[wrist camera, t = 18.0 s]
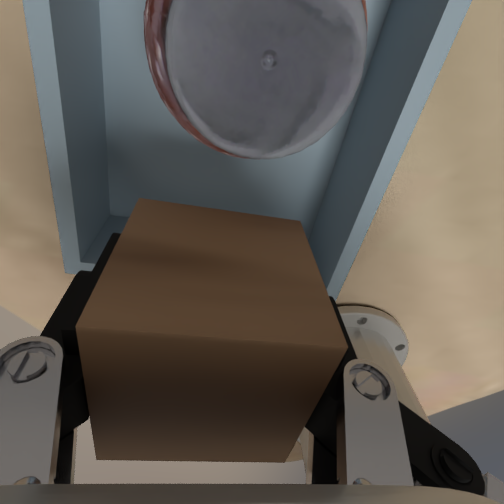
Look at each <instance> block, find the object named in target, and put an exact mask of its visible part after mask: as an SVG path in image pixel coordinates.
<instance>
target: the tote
mask: <svg viewBox="0 0 504 504" xmlns="http://www.w3.org/2000/svg"><path fill="white" fill-rule="evenodd" d="M365 1H366V9H367V24H368V32H367V51H366V59H365V63H364V69H363V75H362V78H361V81H360V84H359V86H358V88H357V90H356V92H355V95H354V97H353V100H352V102H351V103H350V105H349V107H348V108H347V110H346V112H345V113H344V115H343V116H342V117H341V119H340V120H339V121H338V122H337V124H336V125H335V126H334V127H333V128H332V129H331V130H330V131H328V132H327V133H326V134H325V135H324V136H323V137H322V138H321V139H320V140H319V141H317V142H316V143H314V144H312V145H311V146H309V147H307V148H305V149H304V150H302V151H300V152H297V153H295V154H292V155H288V156H285V157H283V158H276V159H259V160H254V159H243V158H237V157H233V156H229V155H225V154H223V153H221V152H218V151H216V150H214V149H212V148H210V147H208V146H206V145H205V144H203V143H201V142H199V141H198V140H196V139H195V138H194V137H193V136H192V135H191V134H189V133H188V132H187V131H186V130H185V129H184V128H183V127H182V126H181V125H180V124H179V123H178V121H177V120H176V119H175V118H174V116H173V115H172V114H171V113H170V112H169V111H168V109H167V107H166V105H165V104H164V102H163V101H162V99H161V98H160V95H159V93H158V91H157V89H156V87H155V84H154V82H153V78H152V75H151V72H150V69H149V65H148V60H147V55H146V49H145V41H144V10H145V3H146V0H23V6H24V13H25V19H26V26H27V32H28V38H29V45H30V51H31V58H32V64H33V70H34V77H35V83H36V90H37V96H38V102H39V109H40V115H41V122H42V128H43V134H44V141H45V147H46V154H47V160H48V166H49V173H50V179H51V186H52V192H53V198H54V205H55V211H56V218H57V224H58V230H59V237H60V243H61V250H62V256H63V262H64V269H65V273H70V274H77V273H78V272H79V271H80V270H85V271H92V270H93V268H94V266H95V265H96V263H97V261H98V259H99V257H100V255H101V253H102V251H103V250H104V248H105V246H106V244H107V242H108V240H109V238H110V237H111V235H112V233H122V231H123V229H124V227H125V225H126V223H127V221H128V219H129V217H130V215H131V213H132V211H133V209H134V207H135V205H136V203H137V201H138V199H139V198H144V199H151V200H158V201H165V202H172V203H179V204H186V205H193V206H200V207H207V208H214V209H221V210H228V211H235V212H242V213H249V214H256V215H263V216H270V217H277V218H284V219H291V220H298V221H300V222H301V224H302V227H303V229H304V232H305V235H306V237H307V240H308V243H309V245H310V248H311V251H312V253H313V256H314V258H315V261H316V264H317V266H318V269H319V272H320V274H321V277H322V279H323V282H324V285H325V287H326V290H327V293H328V295H329V296H331V297H333V298H334V300H335V301H336V299H337V297H338V294H339V292H340V290H341V288H342V286H343V283H344V281H345V279H346V277H347V275H348V272H349V270H350V268H351V266H352V264H353V261H354V259H355V257H356V255H357V253H358V250H359V248H360V246H361V244H362V242H363V239H364V237H365V235H366V233H367V231H368V228H369V226H370V224H371V222H372V220H373V217H374V215H375V213H376V211H377V209H378V206H379V204H380V202H381V200H382V198H383V195H384V193H385V191H386V189H387V187H388V184H389V182H390V180H391V178H392V176H393V173H394V171H395V169H396V167H397V165H398V162H399V160H400V158H401V156H402V154H403V151H404V149H405V147H406V145H407V143H408V140H409V138H410V136H411V134H412V132H413V129H414V127H415V125H416V123H417V121H418V118H419V116H420V114H421V112H422V110H423V107H424V105H425V103H426V101H427V99H428V96H429V94H430V92H431V90H432V88H433V85H434V83H435V81H436V79H437V77H438V74H439V72H440V70H441V68H442V66H443V63H444V61H445V59H446V57H447V54H448V52H449V50H450V48H451V46H452V43H453V41H454V39H455V37H456V35H457V32H458V30H459V28H460V26H461V24H462V21H463V19H464V17H465V15H466V13H467V10H468V8H469V6H470V4H471V2H472V0H365Z"/></svg>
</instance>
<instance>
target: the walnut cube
mask: <svg viewBox="0 0 504 504" xmlns="http://www.w3.org/2000/svg"><path fill="white" fill-rule="evenodd" d="M75 327H76V333H77V339H78V346H79V352H80V358H81V365H82V371H83V377H84V384H85V390H86V396H87V403H88V409H89V415H90V422H91V428H92V434H93V440H94V447H95V453H96V459H97V460H141V461H143V460H144V461H212V462H219V461H220V462H283V463H285V461H286V459H287V457H288V456H289V454H290V452H291V450H292V448H293V447H294V445H295V443H296V441H297V439H298V438H299V436H300V434H301V432H302V430H303V429H304V427H305V425H306V423H307V421H308V419H309V418H310V416H311V414H312V412H313V410H314V409H315V407H316V405H317V403H318V401H319V400H320V398H321V396H322V394H323V392H324V390H325V389H326V387H327V385H328V383H329V381H330V380H331V378H332V376H333V374H334V372H335V371H336V369H337V367H338V365H339V363H340V361H341V360H342V358H343V356H344V354H345V352H346V351H347V349H348V345H347V343H346V340H345V337H344V335H343V332H342V329H341V327H340V324H339V322H338V319H337V316H336V314H335V311H334V308H333V306H332V303H331V301H330V298H329V295H328V293H327V290H326V287H325V285H324V282H323V279H322V277H321V274H320V272H319V269H318V266H317V264H316V261H315V258H314V256H313V253H312V251H311V248H310V245H309V243H308V240H307V237H306V235H305V232H304V229H303V227H302V224H301V222H300V221H298V220H291V219H284V218H277V217H270V216H263V215H256V214H249V213H242V212H235V211H228V210H221V209H214V208H207V207H200V206H193V205H186V204H179V203H172V202H165V201H158V200H151V199H144V198H139V199H138V201H137V203H136V205H135V207H134V209H133V211H132V213H131V215H130V217H129V219H128V221H127V223H126V225H125V227H124V229H123V231H122V233H121V235H120V237H119V239H118V241H117V243H116V245H115V247H114V249H113V251H112V253H111V255H110V257H109V259H108V262H107V264H106V266H105V268H104V270H103V272H102V274H101V276H100V278H99V280H98V282H97V284H96V286H95V288H94V290H93V292H92V294H91V296H90V298H89V300H88V302H87V304H86V306H85V308H84V310H83V312H82V314H81V316H80V318H79V320H78V322H77V324H76V326H75Z"/></svg>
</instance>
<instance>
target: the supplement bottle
mask: <svg viewBox="0 0 504 504" xmlns="http://www.w3.org/2000/svg"><path fill="white" fill-rule="evenodd" d="M367 32H368V24H367V9H366V1H365V0H146V3H145V10H144V41H145V49H146V55H147V60H148V65H149V69H150V72H151V75H152V78H153V82H154V84H155V87H156V89H157V91H158V93H159V95H160V98H161V99H162V101H163V102H164V104H165V105H166V107H167V109H168V111H169V112H170V113H171V114H172V115H173V116H174V118H175V119H176V120H177V121H178V123H179V124H180V125H181V126H182V127H183V128H184V129H185V130H186V131H187V132H188V133H189V134H191V135H192V136H193V137H194V138H195V139H196V140H198V141H199V142H201V143H203V144H205V145H206V146H208V147H210V148H212V149H214V150H216V151H218V152H221V153H223V154H225V155H229V156H233V157H237V158H243V159H254V160H259V159H276V158H283V157H285V156H288V155H292V154H295V153H297V152H300V151H302V150H304V149H305V148H307V147H309V146H311V145H312V144H314V143H316V142H317V141H319V140H320V139H321V138H322V137H323V136H324V135H325V134H326V133H327V132H328V131H330V130H331V129H332V128H333V127H334V126H335V125H336V124H337V122H338V121H339V120H340V119H341V117H342V116H343V115H344V113H345V112H346V110H347V108H348V107H349V105H350V103H351V102H352V100H353V97H354V95H355V92H356V90H357V88H358V86H359V84H360V81H361V78H362V75H363V69H364V63H365V59H366V51H367Z"/></svg>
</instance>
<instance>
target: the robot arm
mask: <svg viewBox="0 0 504 504" xmlns="http://www.w3.org/2000/svg"><path fill="white" fill-rule="evenodd" d="M120 235H121V233H112V235H111V237H110V238H109V240H108V242H107V244H106V246H105V248H104V250H103V251H102V253H101V255H100V257H99V259H98V261H97V263H96V265H95V266H94V268H93V270H92V271H85V270H80V271H79V272H78V273H77V274H76V276H75V277H74V279H73V281H72V282H71V284H70V286H69V288H68V289H67V291H66V293H65V294H64V296H63V298H62V299H61V301H60V303H59V304H58V306H57V308H56V309H55V311H54V313H53V315H52V316H51V318H50V320H49V321H48V323H47V325H46V326H45V328H44V330H43V331H42V333H41V335H40V336H31V337H27V338H23V339H19V340H17V341H14V342H12V343H10V344H8V345H7V346H5V347H4V348H2V349H0V504H504V483H503V482H502V481H500V480H499V479H497V478H496V477H494V476H493V475H491V474H490V473H488V472H487V473H486V474H485V475H483V474H482V473H481V471H480V469H479V468H478V466H477V464H476V462H475V461H474V460H473V459H472V458H471V456H470V455H469V454H468V453H467V452H466V451H465V450H463V449H462V448H461V447H460V446H459V445H458V444H456V443H455V442H453V441H452V440H451V439H449V438H448V437H447V436H445V435H444V434H443V433H442V432H440V431H439V430H438V429H436V428H435V427H433V426H432V425H431V423H430V421H429V420H428V418H427V416H426V414H425V412H424V410H423V408H422V406H421V404H420V402H419V400H418V398H417V396H416V394H415V392H414V390H413V388H412V386H411V384H410V382H409V381H408V379H407V377H406V375H405V373H404V371H403V369H402V365H403V363H404V362H405V360H406V357H407V354H408V340H407V337H406V334H405V333H404V331H403V329H402V328H401V326H400V324H399V323H398V322H397V321H396V320H395V319H394V318H393V317H392V316H390V315H388V314H386V313H385V312H383V311H380V310H377V309H374V308H370V307H363V306H341V307H337V305H336V302H335V300H334V298H333V297H331V296H329V298H330V301H331V303H332V306H333V308H334V311H335V314H336V316H337V319H338V322H339V324H340V327H341V329H342V332H343V335H344V337H345V340H346V343H347V345H348V349H347V351H346V352H345V354H344V356H343V358H342V360H341V361H340V363H339V365H338V367H337V369H336V371H335V372H334V374H333V376H332V378H331V380H330V381H329V383H328V385H327V387H326V389H325V390H324V392H323V394H322V396H321V398H320V400H319V401H318V403H317V405H316V407H315V409H314V410H313V412H312V414H311V416H310V418H309V419H308V421H307V423H306V425H305V427H304V429H303V430H302V432H301V434H300V436H299V438H298V439H297V441H299V442H300V443H301V448H302V454H303V460H304V465H305V471H306V484H74V473H75V456H76V441H77V427H78V426H79V425H81V424H82V423H84V422H85V421H86V420H88V418H89V409H88V403H87V396H86V390H85V384H84V377H83V371H82V365H81V358H80V352H79V346H78V339H77V333H76V327H75V326H76V324H77V322H78V320H79V318H80V316H81V314H82V312H83V310H84V308H85V306H86V304H87V302H88V300H89V298H90V296H91V294H92V292H93V290H94V288H95V286H96V284H97V282H98V280H99V278H100V276H101V274H102V272H103V270H104V268H105V266H106V264H107V262H108V259H109V257H110V255H111V253H112V251H113V249H114V247H115V245H116V243H117V241H118V239H119V237H120Z"/></svg>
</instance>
